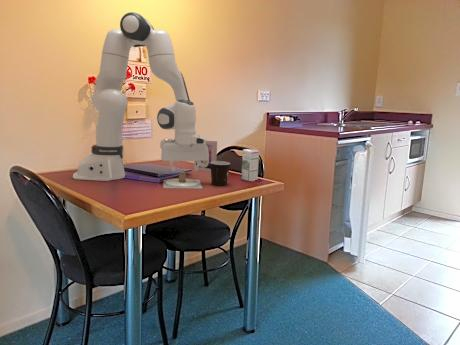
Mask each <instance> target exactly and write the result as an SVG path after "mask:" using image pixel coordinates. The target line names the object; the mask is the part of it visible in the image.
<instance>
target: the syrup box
mask: <svg viewBox="0 0 460 345" xmlns="http://www.w3.org/2000/svg"><path fill="white" fill-rule="evenodd" d="M259 159H260V151H259V150H257V149H253V148H246V149H242V157H241V173H240V174H241V177H240V178H241V180H242V181H246V182H249V181H251V182H256V181H255V180H257V181H258V178H259V176H258V174H259V161H260V160H259Z"/></svg>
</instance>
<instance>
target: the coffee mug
mask: <svg viewBox="0 0 460 345" xmlns="http://www.w3.org/2000/svg"><path fill="white" fill-rule="evenodd" d="M210 166H211V172H210V178H211V185H212V186H214V187H224V186H227V185H228V184H227V183H228V177H229V173H230V167H231V163H230V162H228V161H223V160H222V161H221V160H216V161H213V162H210Z"/></svg>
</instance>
